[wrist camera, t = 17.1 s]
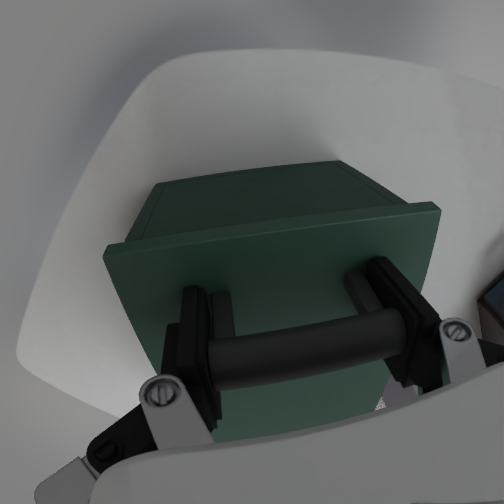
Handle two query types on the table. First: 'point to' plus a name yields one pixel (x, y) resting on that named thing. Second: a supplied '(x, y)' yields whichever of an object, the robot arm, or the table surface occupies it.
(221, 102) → the table surface
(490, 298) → the drawer
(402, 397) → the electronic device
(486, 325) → the cabinet
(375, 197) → the chest
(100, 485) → the robot arm
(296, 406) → the chest lid
